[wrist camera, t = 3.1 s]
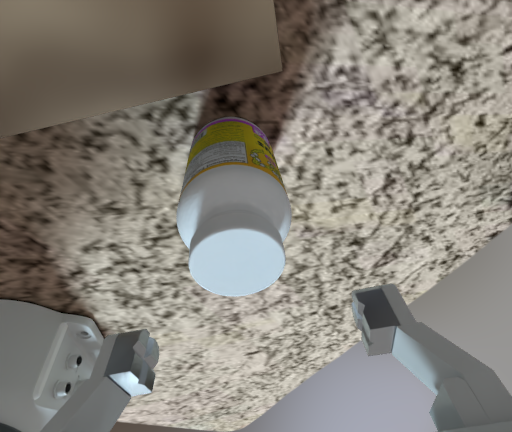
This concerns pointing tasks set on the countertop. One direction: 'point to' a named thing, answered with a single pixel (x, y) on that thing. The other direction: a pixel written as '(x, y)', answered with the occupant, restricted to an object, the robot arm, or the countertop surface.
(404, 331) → the robot arm
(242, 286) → the supplement bottle
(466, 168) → the countertop surface
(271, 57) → the walnut stool
